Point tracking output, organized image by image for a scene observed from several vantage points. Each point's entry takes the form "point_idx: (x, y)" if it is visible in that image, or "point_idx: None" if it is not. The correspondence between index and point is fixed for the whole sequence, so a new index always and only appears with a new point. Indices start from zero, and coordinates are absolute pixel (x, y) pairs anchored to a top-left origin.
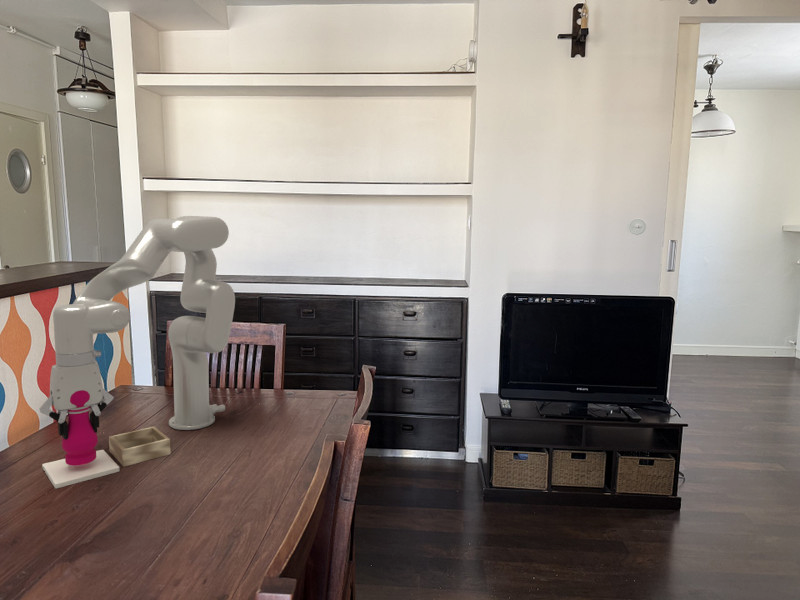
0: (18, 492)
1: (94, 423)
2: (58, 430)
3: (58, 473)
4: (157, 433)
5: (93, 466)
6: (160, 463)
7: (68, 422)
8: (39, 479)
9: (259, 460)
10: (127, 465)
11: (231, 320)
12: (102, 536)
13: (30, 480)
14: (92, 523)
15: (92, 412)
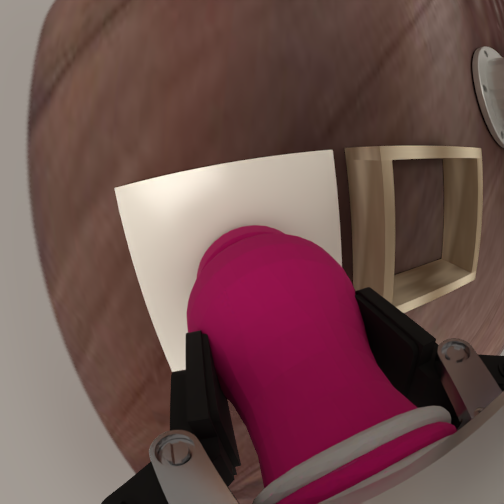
0: (85, 340)
1: None
2: (171, 385)
3: (174, 305)
4: (474, 206)
5: None
6: (415, 309)
7: (247, 427)
8: (119, 282)
9: (484, 343)
10: None
11: None
12: (254, 486)
13: (95, 277)
14: (245, 470)
15: (426, 397)
